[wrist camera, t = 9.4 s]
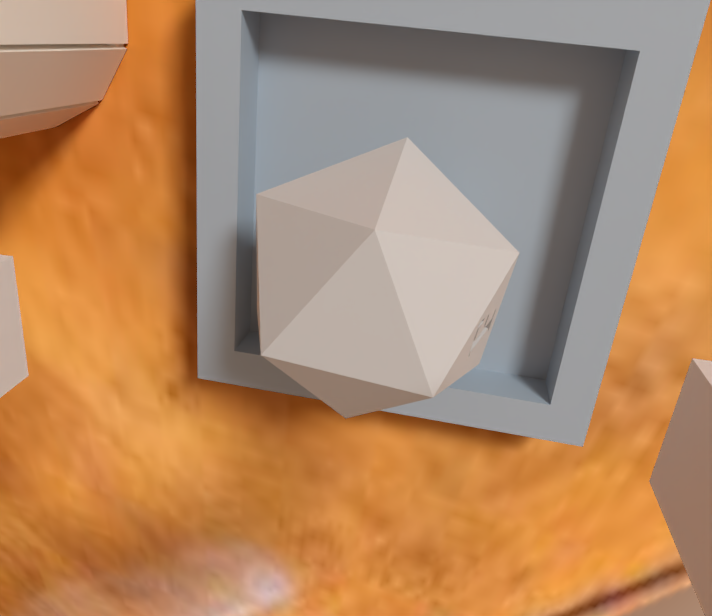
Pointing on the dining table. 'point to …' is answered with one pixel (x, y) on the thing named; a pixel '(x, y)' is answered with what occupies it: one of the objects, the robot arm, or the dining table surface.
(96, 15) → the cup
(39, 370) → the dining table surface
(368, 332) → the die
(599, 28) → the tray
